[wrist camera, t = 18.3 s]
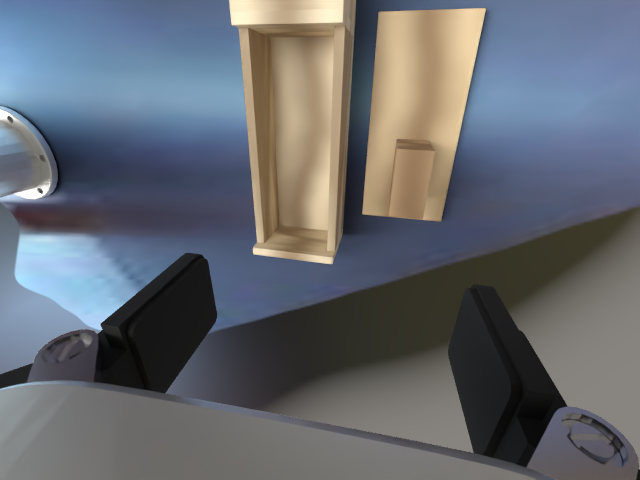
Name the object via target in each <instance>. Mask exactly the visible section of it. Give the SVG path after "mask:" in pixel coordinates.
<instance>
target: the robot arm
mask: <svg viewBox="0 0 640 480" xmlns="http://www.w3.org/2000/svg"><path fill="white" fill-rule="evenodd" d="M57 181H58V171H57V165H56V162H55V159H54V156H53V153H52V151H51V149H50V147H49V145H48V144H47V142H46V141H45V139H44V138H43V136H42V135H41V134H40V133H39V131H38V130H37V129H36V128H35V127H34V126H33V125H32V124H31V123H30V122H29V121H28V120H27V119H25V118H24V117H23V116H21V115H20V114H18V113H17V112H15V111H13V110H11V109H9V108H6V107H3V106H0V197H3V196H7V195H11V194H15V195H17V196H20V197H22V198H26V199H40V198H43V197H46V196H48V195H50V194H51V193H52V192H53V191H54V189H55V188H56V185H57ZM216 318H217V311H216V305H215V300H214V294H213V288H212V282H211V277H210V271H209V265H208V261H207V259H204V257H203V255H201V254H193V253H185V254H184V255H183V256H181V257H180V258H179V259H178V260H177V261H175V262H174V263H173V264H172V265H171V266H169V267H168V268H167V269H166V270H165V271H163V272H162V273H161V274H160V275H159V276H157V277H156V278H155V279H154V280H153V281H151V282H150V283H149V284H148V285H147V286H145V287H144V288H143V289H142V290H141V291H139V292H138V293H137V294H136V295H135V296H133V297H132V298H131V299H130V300H129V301H127V302H126V303H125V304H124V305H123V306H121V307H120V308H119V309H118V310H117V311H115V312H114V313H113V314H112V315H111V316H109V317H108V318H107V319H106V320H105V321H103V322H102V323H101V327H102V329H103V330H102V331H101V332H100V333H98V334H97V333H96V332H95V331H93V330H89V329H80V330H75V331H71V332H68V333H65V334H63V335H60V336H58V337H56V338H54V339H53V340H51V341H50V342H48V343H47V344H45V345H44V346H43V347H42V348H41V349H40V350H39V351H38V353H37V355H36V356H35V359H34V362H33V363H32V364H29V365H26V366H23V367H20V368H18V369H15V370H12V371H9V372H6V373H3V374H0V480H640V470H639V469H638V468H639V464H638V457H637V454H636V453H635V450H634V448H633V447H632V445H631V444H630V443H629V441H628V440H627V439H626V438H625V437H624V435H623V434H621V433H620V432H619V431H618V430H617V429H616V428H615V427H614V426H612V425H611V424H610V423H608V422H607V421H605V420H604V419H602V418H601V417H599V416H597V415H595V414H593V413H591V412H589V411H586V410H583V409H580V408H576V407H568V406H567V405H566V403H565V401H564V400H563V398H562V396H561V395H560V393H559V391H558V390H557V388H556V386H555V385H554V383H553V381H552V380H551V378H550V376H549V375H548V373H547V371H546V370H545V368H544V366H543V365H542V363H541V361H540V360H539V358H538V356H537V355H536V353H535V351H534V349H533V348H532V346H531V345H530V343H529V341H528V339H527V338H526V336H525V335H524V334H523V332H521V331H520V330H518V328H517V326H516V325H515V323H514V321H513V320H512V318H511V316H510V314H509V313H508V311H507V309H506V307H505V306H504V304H503V302H502V301H501V299H500V297H499V296H498V294H497V292H496V290H495V289H494V288H493V287H491V286H482V285H473V286H472V287H471V289H470V288H467V289H466V290H465V293H464V296H463V300H462V303H461V307H460V310H459V314H458V317H457V320H456V324H455V327H454V331H453V334H452V338H451V341H450V344H449V349H448V354H449V360H450V364H451V367H452V372H453V375H454V379H455V383H456V387H457V390H458V394H459V398H460V402H461V406H462V410H463V413H464V417H465V421H466V425H467V429H468V432H469V436H470V440H471V444H472V448H473V452H474V453H471V452H466V451H461V450H457V449H452V448H447V447H442V446H438V445H432V444H428V443H423V442H419V441H414V440H409V439H404V438H398V437H393V436H388V435H382V434H378V433H373V432H367V431H362V430H357V429H352V428H347V427H342V426H336V425H332V424H326V423H321V422H316V421H311V420H305V419H300V418H294V417H290V416H284V415H279V414H274V413H268V412H263V411H258V410H252V409H246V408H242V407H236V406H231V405H225V404H220V403H214V402H209V401H204V400H198V399H193V398H187V397H182V396H176V395H171V394H165V393H166V391H167V390H168V388H169V387H170V385H171V384H172V383H173V381H174V380H175V379H176V377H177V376H178V374H179V373H180V371H181V370H182V369H183V367H184V366H185V364H186V363H187V361H188V360H189V359H190V357H191V356H192V355H193V353H194V351H195V350H196V349H197V348H198V346H199V345H200V343H201V342H202V340H203V339H204V338H205V336H206V335H207V333H208V332H209V331H210V329H211V328H212V326H213V325H214V323H215V322H216Z"/></svg>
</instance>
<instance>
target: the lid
mask: <svg viewBox="0 0 640 480" xmlns="http://www.w3.org/2000/svg"><path fill="white" fill-rule="evenodd" d="M485 11H486V8H474V9H445V10H416V11H387V12H379V15H378V28H377V40H376V52H375V64H374V76H373V89H372V101H371V113H370V125H369V137H368V150H367V162H366V174H365V186H364V198H363V211H362V214H364V215H375V216H386V217H397V218H408V219H419V220H430V221H441V219H442V214H443V209H444V205H445V200H446V195H447V191H448V186H449V181H450V176H451V172H452V167H453V162H454V158H455V153H456V148H457V143H458V139H459V134H460V129H461V125H462V120H463V115H464V110H465V106H466V101H467V96H468V91H469V87H470V82H471V77H472V73H473V68H474V63H475V58H476V54H477V49H478V44H479V40H480V35H481V30H482V25H483V21H484V16H485Z"/></svg>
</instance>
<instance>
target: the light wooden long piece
mask: <svg viewBox="0 0 640 480" xmlns="http://www.w3.org/2000/svg"><path fill="white" fill-rule="evenodd" d="M229 2H230V12H231V23H232V25H233V26H236V27H238V28H239V37H240V48H241V60H242V71H243V83H244V95H245V106H246V118H247V129H248V141H249V152H250V164H251V176H252V187H253V199H254V210H255V222H256V233H257V243H256V245H255V246H254V247H253V254H256V255H264V256H272V257H279V258H287V259H295V260H303V261H311V262H318V263H326V264H333V261H334V258H335V255H336V252H337V249H338V247H339V244H340V241H341V238H342V235H343V220H344V203H345V186H346V169H347V151H348V134H349V117H350V100H351V82H352V65H353V48H354V31H355V13H356V0H229Z"/></svg>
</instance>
